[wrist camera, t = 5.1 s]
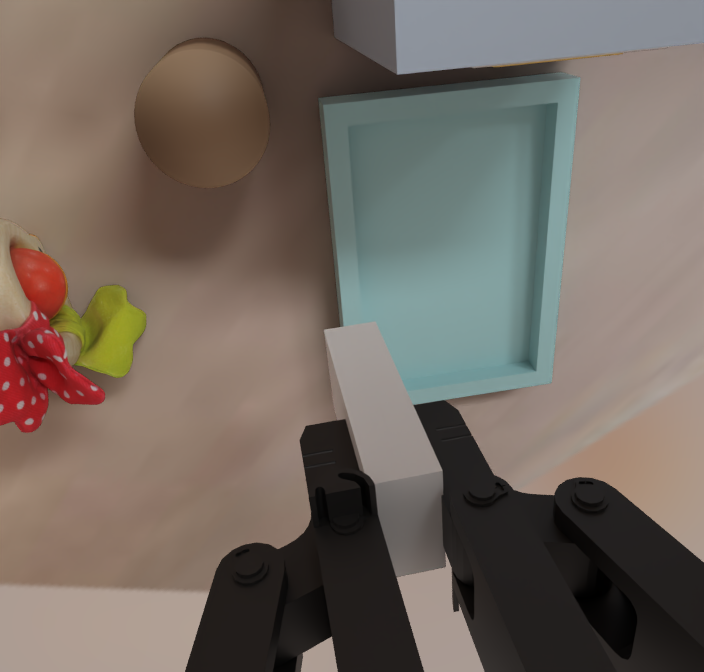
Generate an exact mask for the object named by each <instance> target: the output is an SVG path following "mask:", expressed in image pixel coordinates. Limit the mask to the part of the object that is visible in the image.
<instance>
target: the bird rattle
mask: <svg viewBox="0 0 704 672" xmlns="http://www.w3.org/2000/svg"><path fill="white" fill-rule="evenodd" d="M67 294H68V285H67V279H66V276H65V274H64V272H63V270H62V268H61V267H60V266H59V264H58V263H57V262H56V261H55V260H54V259H52V258H51V257H50V256H49V255H47V254H45V252H44V249H43V246H42V244H41V242H40V240H39V239H38V238H37V237H36V236H34V235H31V234H28V233H27V232H26V231H25V230H24V229H23V228H21V227H20V226H18V225H17V224H15V223H13V222H11V221H9V220H6V219H2V218H0V426H1V425H4V424H7V423H9V422H15V424H16V425H17V427H18V428H19V429H20V430H21V432H23V433H28V432H33V431H34V430H36V429H37V428H38V427H39V426H40V425H41V423H42V421H43V418H44V416H45V414H46V411H47V408H48V389H50V390H51V391H52V392H53V393H56V394H57V395H59V396H60V397H61V398H62V399H63V400H64V401H66V402H68V403H70V404H89V405H97V404H100V403H102V402H103V401H104V399H105V393H104V391H103V390H102V389H101V388H100V387H98V386H97V385H96V384H94V383H92V382H91V381H90V380H89V379H87V378H86V377H85V376H83V375H82V374H80V373H79V372H77V371H76V370H74V369H73V368H72V366H73V365H76V366H83V367H86V368H88V369H91V370H93V371H96V372H99V373H104V374H107V375H110V376H112V377H115V378H120V377H123V376H124V375H126V374H127V373H128V372H129V370H130V367H131V364H132V361H133V344H134V343H135V341H136V340H137V339H138V338H139V337H140V336H141V335H142V333H143V332H144V330H145V327H146V314H145V313H144V312H143V311H142V310H140V309H138V308H136V307H134V306H132V305H131V304H130V303H129V302H128V301H127V292H126V290H125V289H124V288H123V287H121V286H119V285H110V286H104V287H100V288H99V289H98V290H97V292H96V294H95V295H94V297H93V299H92V300H91V302H90V304H89V306H88V308H87V311H86V312H85V314H84V315H83V316H82V318H81V319H80V316H79V315H78V314H77V313H76V312H75V311H74V310H73V309H72V306H71V303H70V301H69V298H68V296H67Z"/></svg>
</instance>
